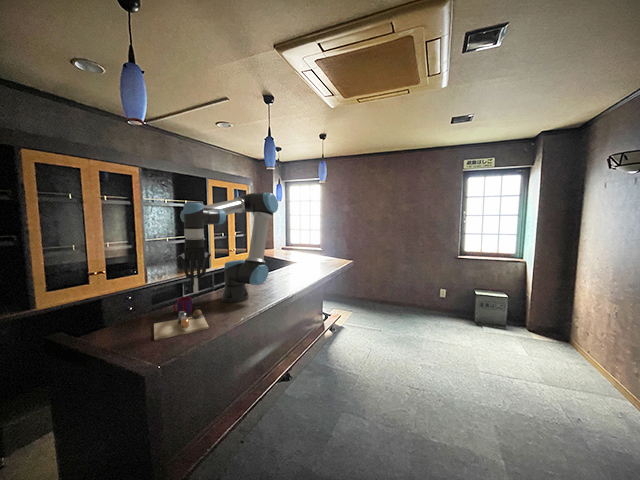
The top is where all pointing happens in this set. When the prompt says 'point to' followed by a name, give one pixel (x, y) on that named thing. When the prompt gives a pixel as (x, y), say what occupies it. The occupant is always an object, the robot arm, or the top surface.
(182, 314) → the lever
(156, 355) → the top surface
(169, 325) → the press base
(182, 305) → the mug
